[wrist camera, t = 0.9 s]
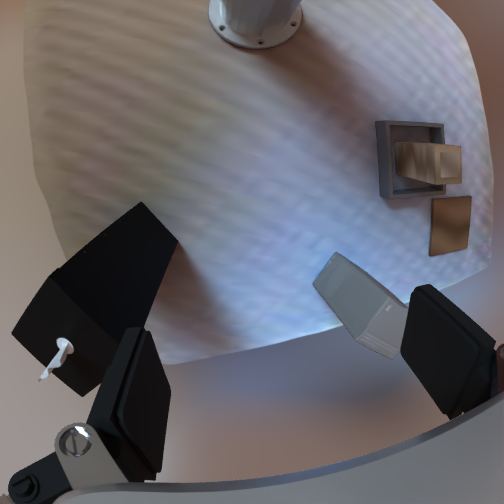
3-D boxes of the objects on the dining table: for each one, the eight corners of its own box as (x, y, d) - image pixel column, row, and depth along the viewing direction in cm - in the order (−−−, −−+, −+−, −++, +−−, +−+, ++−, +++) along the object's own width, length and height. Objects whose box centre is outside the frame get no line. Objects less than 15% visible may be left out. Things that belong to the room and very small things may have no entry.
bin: (375, 121, 37) (385, 120, 35) (432, 123, 38) (443, 124, 35) (379, 195, 41) (389, 199, 39) (434, 190, 42) (445, 194, 39)
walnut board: (431, 199, 42) (434, 200, 42) (469, 195, 43) (471, 196, 42) (428, 255, 46) (430, 256, 45) (465, 246, 46) (467, 247, 46)
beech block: (394, 141, 39) (435, 145, 29) (419, 142, 39) (461, 146, 30) (395, 174, 41) (436, 184, 31) (420, 173, 41) (462, 183, 31)
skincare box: (310, 282, 45) (346, 345, 31) (338, 245, 44) (389, 295, 29) (347, 305, 48) (389, 366, 33) (374, 272, 46) (427, 323, 31)
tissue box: (179, 241, 41) (124, 391, 15) (142, 274, 42) (70, 426, 16) (141, 200, 39) (22, 300, 12) (106, 236, 40) (-10, 357, 14)
